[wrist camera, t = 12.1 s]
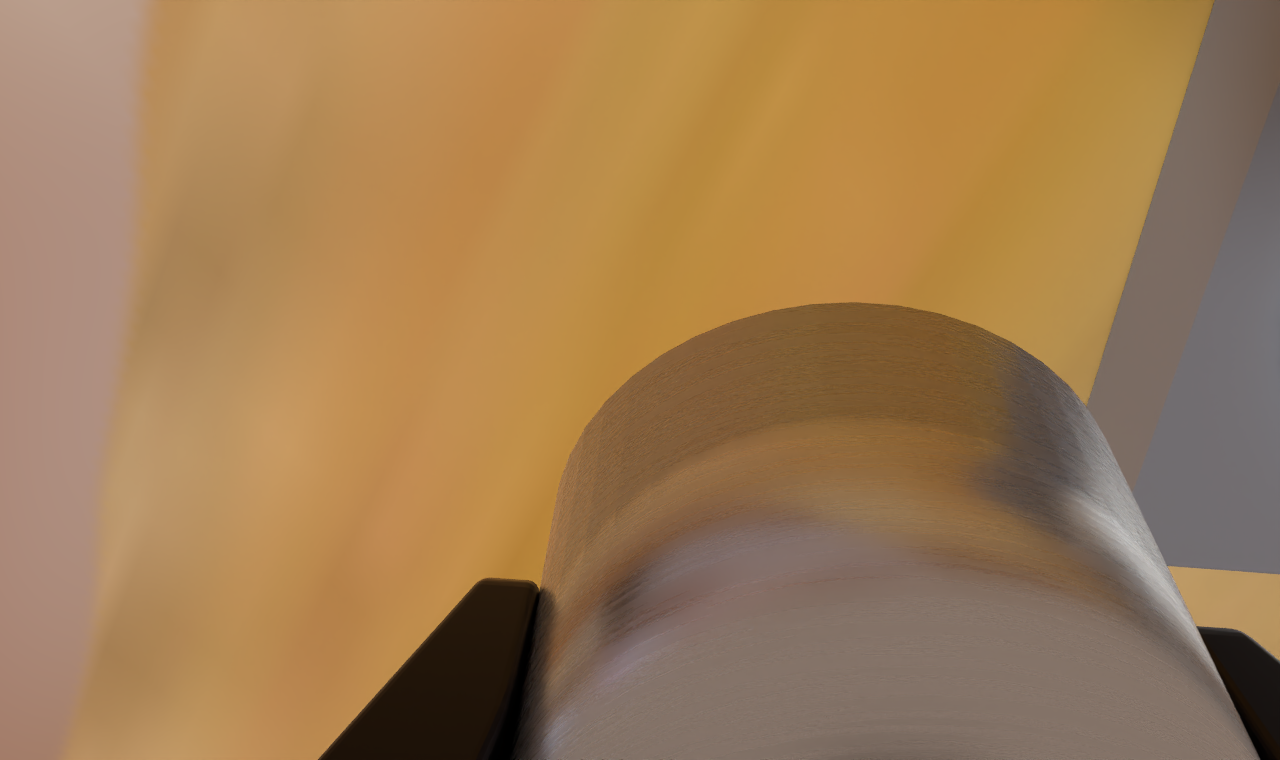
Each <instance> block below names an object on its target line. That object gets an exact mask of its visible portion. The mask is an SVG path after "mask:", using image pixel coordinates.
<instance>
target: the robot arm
mask: <svg viewBox="0 0 1280 760" xmlns="http://www.w3.org/2000/svg"><path fill="white" fill-rule="evenodd" d="M538 598H539V589H538V587H537V585H536V584H535V583H534V582H532V581H529V580H515V579H500V578H485V579H482V580H480V581H479V582H477V583H476V584H475V585H474V586H473V588H472V589H471V590H470V591H469V592H468V593H467V594H466V595H465V596H464V598H463V599H462V600H461V601H460V602H459V603H458V604H457V605H456V606H455V608H454V609H453V610H452V611H451V612H450V613H449V614H448V615H447V616H446V618H445V619H444V620H443V621H442V622H441V623H440V624H439V625H438V627H437V628H436V629H435V630H434V631H433V632H432V633H431V634H430V635H429V637H428V638H427V639H426V640H425V641H424V642H423V643H422V644H421V645H420V647H419V648H418V649H417V650H416V651H415V652H414V653H413V654H412V655H411V657H410V658H409V659H408V660H407V661H406V662H405V663H404V664H403V665H402V667H401V668H400V669H399V670H398V671H397V672H396V673H395V674H394V676H393V677H392V678H391V679H390V680H389V681H388V682H387V683H386V684H385V686H384V687H383V688H382V689H381V690H380V691H379V692H378V693H377V694H376V696H375V697H374V698H373V699H372V700H371V701H370V702H369V703H368V704H367V706H366V707H365V708H364V709H363V710H362V711H361V712H360V713H359V714H358V716H357V717H356V718H355V719H354V720H353V721H352V722H351V723H350V724H349V726H348V727H347V728H346V729H345V730H344V731H343V732H342V733H341V734H340V736H339V737H338V738H337V739H336V740H335V741H334V742H333V743H332V744H331V746H330V747H329V748H328V749H327V750H326V751H325V752H324V753H323V755H322V756H321V757H320V758H319V759H318V760H509V756H510V751H511V745H512V740H513V734H514V729H515V724H516V718H517V713H518V707H519V702H520V696H521V691H522V685H523V680H524V674H525V669H526V663H527V658H528V653H529V647H530V642H531V636H532V631H533V625H534V620H535V614H536V609H537V603H538ZM1196 627H1197V629H1198V631H1199V633H1200V635H1201V637H1202V639H1203V641H1204V644H1205V646H1206V648H1207V650H1208V652H1209V654H1210V656H1211V658H1212V660H1213V662H1214V664H1215V666H1216V668H1217V671H1218V673H1219V675H1220V677H1221V679H1222V681H1223V683H1224V685H1225V687H1226V689H1227V691H1228V693H1229V695H1230V698H1231V700H1232V702H1233V704H1234V706H1235V708H1236V710H1237V712H1238V714H1239V716H1240V718H1241V720H1242V722H1243V725H1244V727H1245V729H1246V731H1247V733H1248V735H1249V737H1250V739H1251V741H1252V743H1253V745H1254V747H1255V749H1256V751H1257V754H1258V756H1259V758H1260V760H1280V661H1279V660H1278V659H1277V658H1275V657H1274V656H1273V655H1272V654H1270V653H1269V652H1268V651H1267V650H1266V649H1264V648H1263V647H1262V646H1261V645H1260V644H1258V643H1257V642H1256V641H1255V640H1253V639H1252V638H1251V637H1249V636H1248V635H1246V634H1245V633H1243V632H1241V631H1238V630H1234V629H1227V628H1213V627H1199V626H1196Z"/></svg>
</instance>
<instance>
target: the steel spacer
mask: <svg viewBox="0 0 1280 760" xmlns="http://www.w3.org/2000/svg"><path fill="white" fill-rule="evenodd" d="M509 760H1260V758H1259V756H1258V754H1257V751H1256V749H1255V747H1254V745H1253V743H1252V741H1251V739H1250V737H1249V735H1248V733H1247V731H1246V729H1245V727H1244V725H1243V722H1242V720H1241V718H1240V716H1239V714H1238V712H1237V710H1236V708H1235V706H1234V704H1233V702H1232V700H1231V698H1230V695H1229V693H1228V691H1227V689H1226V687H1225V685H1224V683H1223V681H1222V679H1221V677H1220V675H1219V673H1218V671H1217V668H1216V666H1215V664H1214V662H1213V660H1212V658H1211V656H1210V654H1209V652H1208V650H1207V648H1206V646H1205V644H1204V641H1203V639H1202V637H1201V635H1200V633H1199V631H1198V629H1197V627H1196V625H1195V623H1194V621H1193V619H1192V617H1191V614H1190V612H1189V610H1188V608H1187V606H1186V604H1185V602H1184V600H1183V598H1182V596H1181V594H1180V592H1179V590H1178V587H1177V585H1176V583H1175V581H1174V579H1173V577H1172V575H1171V573H1170V571H1169V569H1168V567H1167V565H1166V563H1165V560H1164V558H1163V556H1162V554H1161V552H1160V550H1159V548H1158V546H1157V544H1156V542H1155V540H1154V538H1153V536H1152V533H1151V531H1150V529H1149V527H1148V525H1147V523H1146V521H1145V519H1144V517H1143V515H1142V513H1141V511H1140V509H1139V506H1138V504H1137V502H1136V500H1135V498H1134V496H1133V494H1132V492H1131V490H1130V488H1129V486H1128V484H1127V482H1126V479H1125V477H1124V475H1123V473H1122V471H1121V469H1120V467H1119V465H1118V463H1117V461H1116V459H1115V457H1114V455H1113V453H1112V450H1111V448H1110V446H1109V444H1108V442H1107V440H1106V438H1105V436H1104V435H1103V433H1102V431H1101V429H1100V428H1099V426H1098V424H1097V423H1096V421H1095V419H1094V417H1093V416H1092V414H1091V412H1090V411H1089V410H1088V408H1087V407H1086V406H1085V405H1084V403H1083V402H1082V401H1081V400H1080V399H1079V397H1078V396H1077V395H1076V394H1075V393H1074V391H1073V390H1072V389H1071V388H1070V387H1069V385H1067V384H1066V383H1065V382H1064V381H1063V380H1062V379H1061V378H1060V377H1058V376H1057V375H1056V374H1055V373H1054V372H1053V371H1052V370H1050V369H1049V368H1048V367H1047V366H1046V365H1045V364H1044V363H1043V362H1041V361H1040V360H1038V359H1036V358H1035V357H1033V356H1032V355H1030V354H1029V353H1027V352H1026V351H1024V350H1023V349H1021V348H1020V347H1018V346H1017V345H1015V344H1013V343H1012V342H1010V341H1008V340H1006V339H1004V338H1001V337H999V336H997V335H995V334H993V333H991V332H989V331H987V330H984V329H982V328H980V327H978V326H976V325H973V324H970V323H967V322H963V321H960V320H957V319H954V318H951V317H948V316H945V315H942V314H939V313H934V312H928V311H923V310H918V309H913V308H908V307H903V306H897V305H883V304H869V303H831V304H812V305H805V306H799V307H792V308H786V309H780V310H773V311H769V312H765V313H762V314H758V315H754V316H751V317H747V318H743V319H740V320H736V321H733V322H730V323H727V324H725V325H722V326H720V327H718V328H715V329H713V330H710V331H708V332H705V333H703V334H700V335H698V336H695V337H693V338H692V339H690V340H688V341H686V342H684V343H683V344H681V345H679V346H677V347H675V348H673V349H672V350H670V351H668V352H666V353H664V354H663V355H661V356H659V357H658V358H657V359H655V360H654V361H653V362H651V363H650V364H649V365H647V366H646V367H644V368H643V369H642V370H640V371H639V372H638V373H636V374H635V375H634V376H632V377H631V378H630V379H629V380H628V381H627V382H626V383H625V384H624V385H623V386H622V387H620V388H619V389H618V390H617V391H616V392H615V393H614V394H613V395H612V396H611V397H610V398H609V399H608V400H607V401H606V402H605V403H604V405H603V406H602V407H601V408H600V410H599V411H598V412H597V414H596V415H595V416H594V417H593V419H592V420H591V421H590V423H589V424H588V425H587V426H586V428H585V429H584V431H583V433H582V435H581V436H580V438H579V440H578V442H577V444H576V445H575V447H574V449H573V451H572V452H571V454H570V456H569V459H568V462H567V464H566V467H565V470H564V473H563V475H562V478H561V481H560V484H559V489H558V494H557V499H556V505H555V510H554V515H553V521H552V526H551V532H550V537H549V543H548V548H547V553H546V559H545V564H544V570H543V575H542V581H541V586H540V592H539V598H538V603H537V609H536V614H535V620H534V625H533V631H532V636H531V642H530V647H529V653H528V658H527V663H526V669H525V674H524V680H523V685H522V691H521V696H520V702H519V707H518V713H517V718H516V724H515V729H514V734H513V740H512V745H511V751H510V756H509Z"/></svg>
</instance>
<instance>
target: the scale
mask: <svg viewBox="0 0 1280 760" xmlns="http://www.w3.org/2000/svg"><path fill="white" fill-rule="evenodd" d="M1087 408H1088V410H1089V411H1090V412H1091V414H1092V416H1093V417H1094V419H1095V421H1096V423H1097V424H1098V426H1099V428H1100V429H1101V431H1102V433H1103V435H1104V436H1105V438H1106V440H1107V442H1108V444H1109V446H1110V448H1111V450H1112V453H1113V455H1114V457H1115V459H1116V461H1117V463H1118V465H1119V467H1120V469H1121V471H1122V473H1123V475H1124V477H1125V479H1126V482H1127V484H1128V486H1129V488H1130V490H1131V492H1132V494H1133V496H1134V498H1135V500H1136V502H1137V504H1138V506H1139V509H1140V511H1141V513H1142V515H1143V517H1144V519H1145V521H1146V523H1147V525H1148V527H1149V529H1150V531H1151V533H1152V536H1153V538H1154V540H1155V542H1156V544H1157V546H1158V548H1159V550H1160V552H1161V554H1162V556H1163V558H1164V560H1165V563H1166V565H1167V566H1177V567H1190V568H1204V569H1217V570H1230V571H1243V572H1257V573H1270V574H1280V0H1215V2H1214V5H1213V8H1212V11H1211V14H1210V17H1209V21H1208V24H1207V27H1206V30H1205V33H1204V36H1203V40H1202V43H1201V46H1200V49H1199V52H1198V55H1197V59H1196V62H1195V65H1194V68H1193V71H1192V74H1191V78H1190V81H1189V84H1188V87H1187V90H1186V93H1185V97H1184V100H1183V103H1182V106H1181V109H1180V112H1179V116H1178V119H1177V122H1176V125H1175V128H1174V132H1173V135H1172V138H1171V141H1170V144H1169V147H1168V151H1167V154H1166V157H1165V160H1164V163H1163V166H1162V170H1161V173H1160V176H1159V179H1158V182H1157V185H1156V189H1155V192H1154V195H1153V198H1152V201H1151V204H1150V208H1149V211H1148V214H1147V217H1146V220H1145V223H1144V227H1143V230H1142V233H1141V236H1140V239H1139V242H1138V246H1137V249H1136V252H1135V255H1134V258H1133V262H1132V265H1131V268H1130V271H1129V274H1128V277H1127V281H1126V284H1125V287H1124V290H1123V293H1122V296H1121V300H1120V303H1119V306H1118V309H1117V312H1116V315H1115V319H1114V322H1113V325H1112V328H1111V331H1110V334H1109V338H1108V341H1107V344H1106V347H1105V350H1104V353H1103V357H1102V360H1101V363H1100V366H1099V369H1098V372H1097V376H1096V379H1095V382H1094V385H1093V388H1092V392H1091V395H1090V398H1089V401H1088V404H1087Z"/></svg>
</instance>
